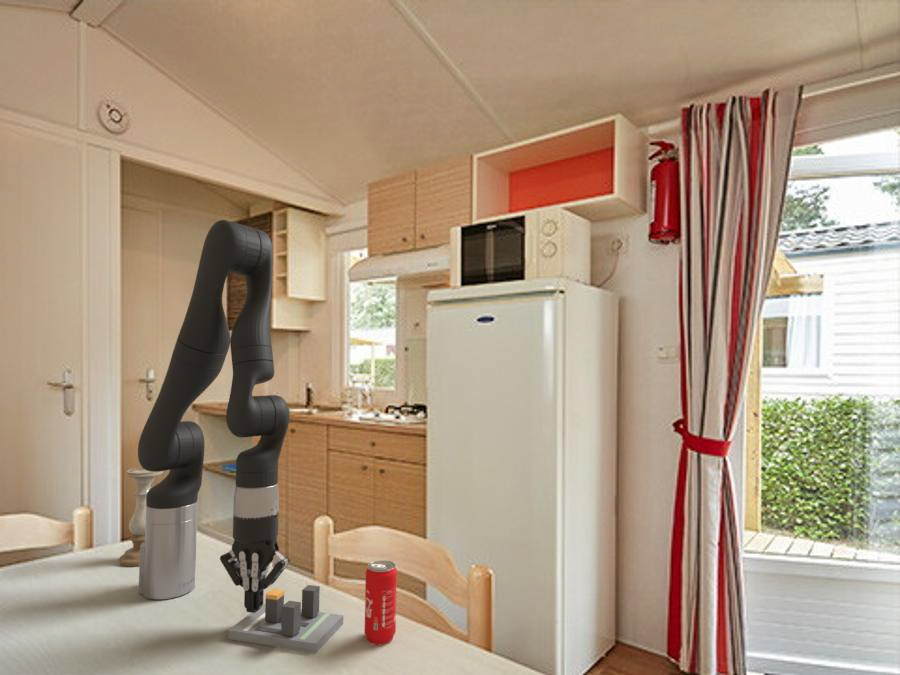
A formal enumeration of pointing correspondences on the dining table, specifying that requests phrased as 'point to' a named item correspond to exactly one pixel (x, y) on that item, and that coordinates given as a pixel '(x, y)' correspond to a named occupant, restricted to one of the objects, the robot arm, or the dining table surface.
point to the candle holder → (138, 514)
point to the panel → (269, 633)
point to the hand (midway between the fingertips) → (253, 610)
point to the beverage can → (380, 602)
